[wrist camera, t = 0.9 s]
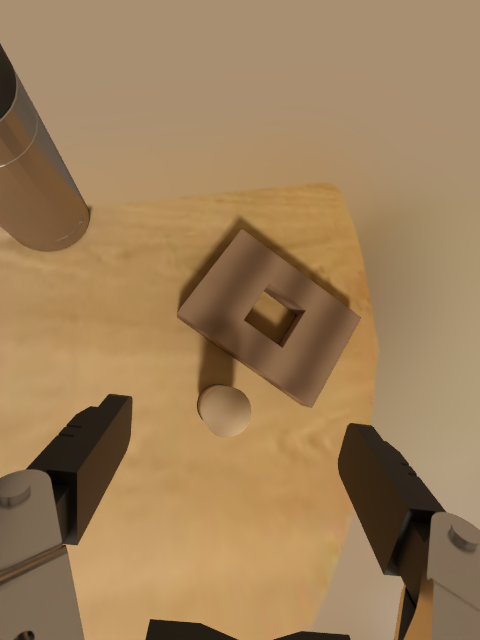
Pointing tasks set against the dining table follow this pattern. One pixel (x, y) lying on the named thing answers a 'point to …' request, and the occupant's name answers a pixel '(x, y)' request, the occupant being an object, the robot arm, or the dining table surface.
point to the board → (250, 344)
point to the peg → (224, 410)
